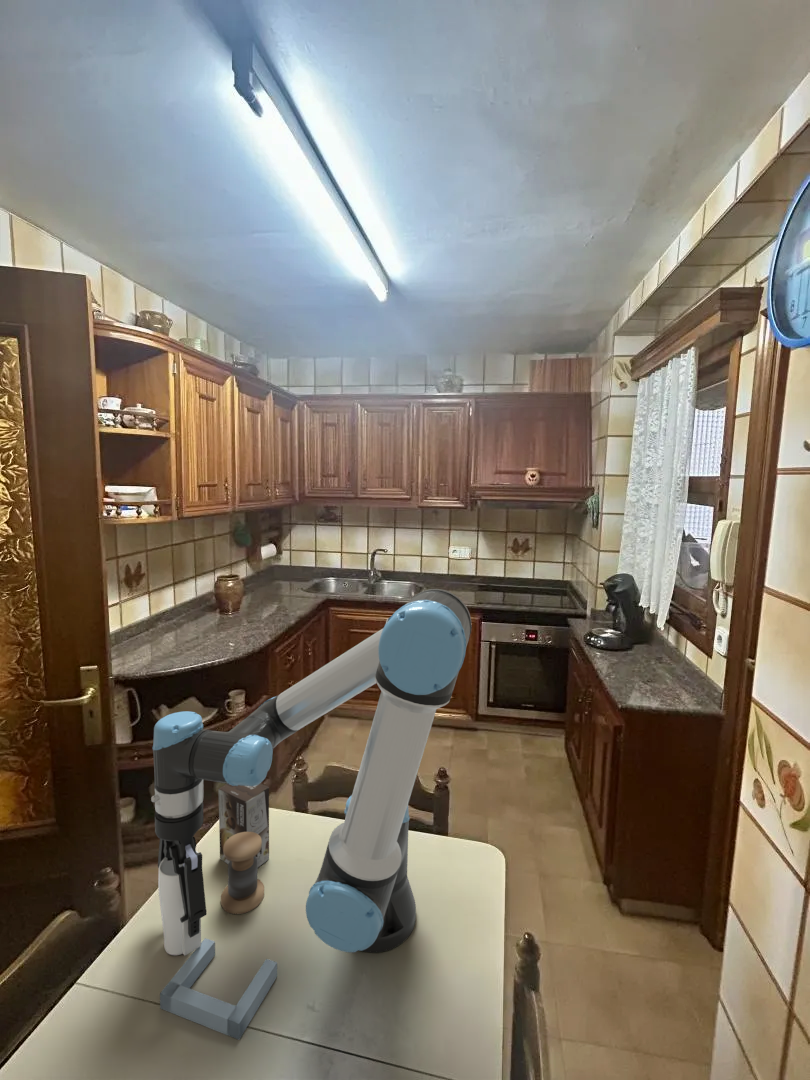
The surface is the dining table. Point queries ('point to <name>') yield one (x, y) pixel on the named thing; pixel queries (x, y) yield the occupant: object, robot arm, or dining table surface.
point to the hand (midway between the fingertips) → (181, 929)
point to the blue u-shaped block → (209, 1008)
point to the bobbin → (242, 874)
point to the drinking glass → (171, 907)
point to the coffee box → (244, 815)
